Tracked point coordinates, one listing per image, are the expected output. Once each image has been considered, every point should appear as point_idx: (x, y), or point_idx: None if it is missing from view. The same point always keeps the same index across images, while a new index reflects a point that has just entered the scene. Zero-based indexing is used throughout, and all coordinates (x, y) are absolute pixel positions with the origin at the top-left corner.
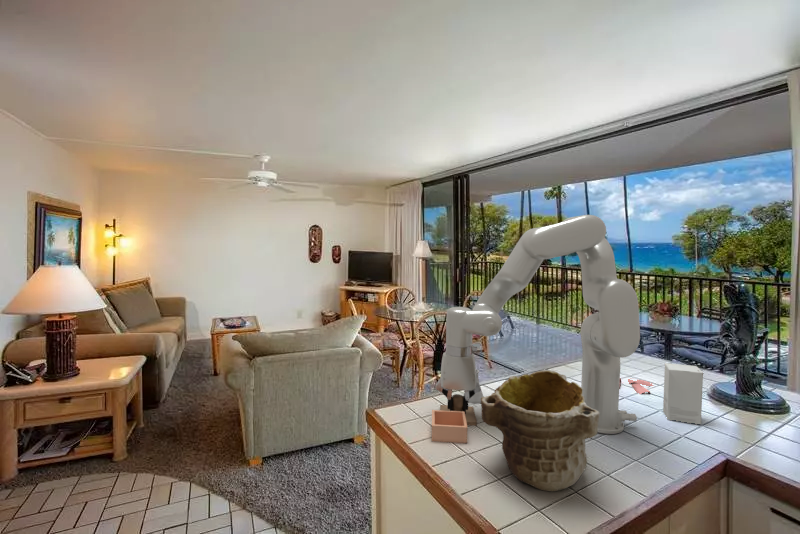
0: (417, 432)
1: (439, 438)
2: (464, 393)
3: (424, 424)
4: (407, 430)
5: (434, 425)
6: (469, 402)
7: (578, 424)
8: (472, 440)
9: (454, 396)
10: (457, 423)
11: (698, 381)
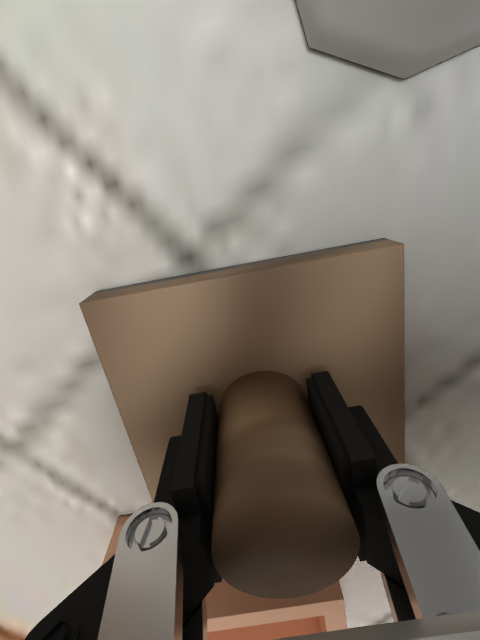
0: (72, 585)
1: None
2: (387, 523)
3: (73, 515)
4: (14, 583)
5: None
6: (364, 59)
7: None
8: (354, 575)
9: (240, 560)
10: None
11: None
